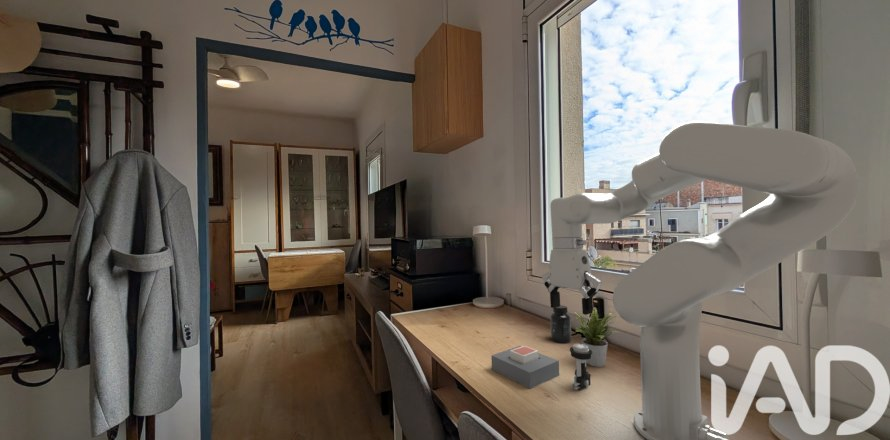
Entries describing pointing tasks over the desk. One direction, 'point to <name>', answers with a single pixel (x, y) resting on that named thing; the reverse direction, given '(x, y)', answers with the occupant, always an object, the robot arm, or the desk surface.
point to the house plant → (595, 337)
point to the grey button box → (526, 368)
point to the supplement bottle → (560, 325)
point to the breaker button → (524, 355)
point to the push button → (581, 365)
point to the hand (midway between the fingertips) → (570, 310)
